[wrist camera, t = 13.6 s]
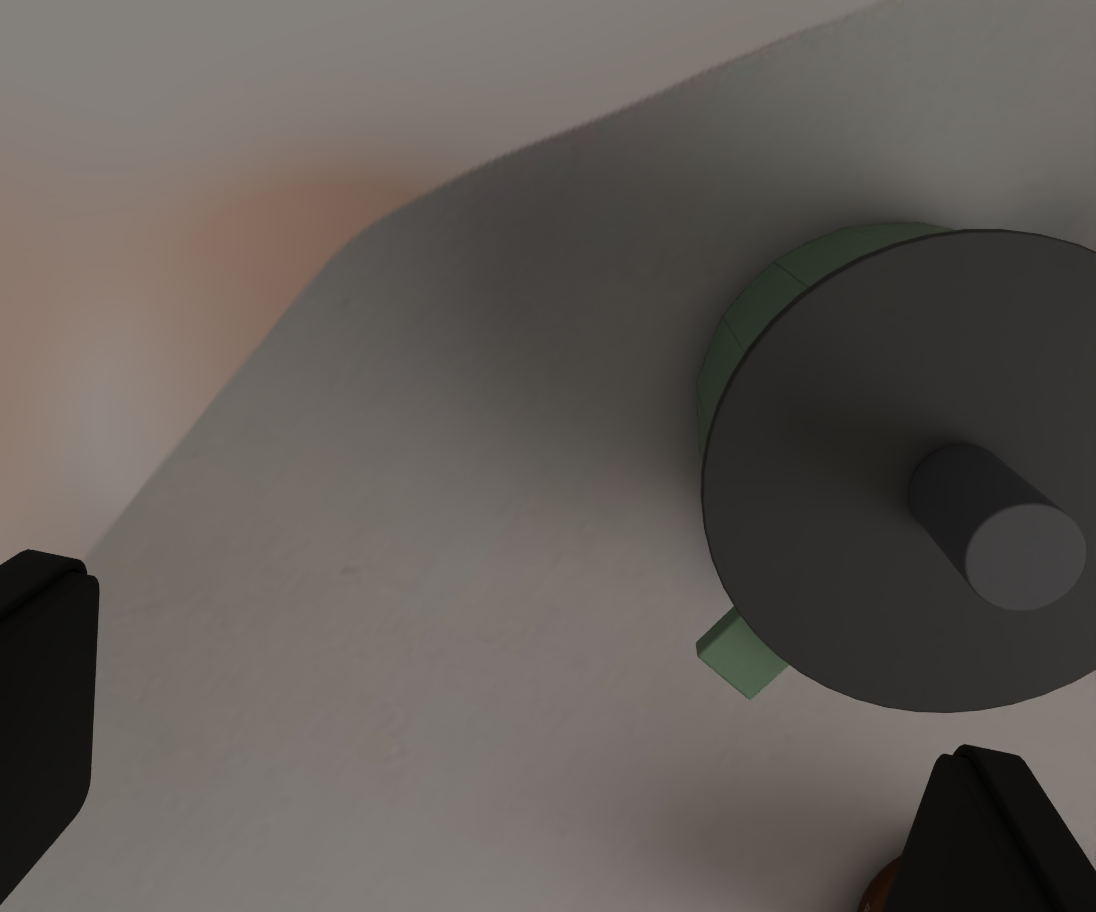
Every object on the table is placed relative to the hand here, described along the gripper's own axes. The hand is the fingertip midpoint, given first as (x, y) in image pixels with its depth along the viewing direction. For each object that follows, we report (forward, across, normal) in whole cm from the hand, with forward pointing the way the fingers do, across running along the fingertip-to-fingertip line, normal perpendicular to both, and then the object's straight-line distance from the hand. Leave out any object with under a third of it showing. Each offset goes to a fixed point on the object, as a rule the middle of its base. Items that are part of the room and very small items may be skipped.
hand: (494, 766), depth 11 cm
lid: (+19, -11, +1) cm, 22 cm away
